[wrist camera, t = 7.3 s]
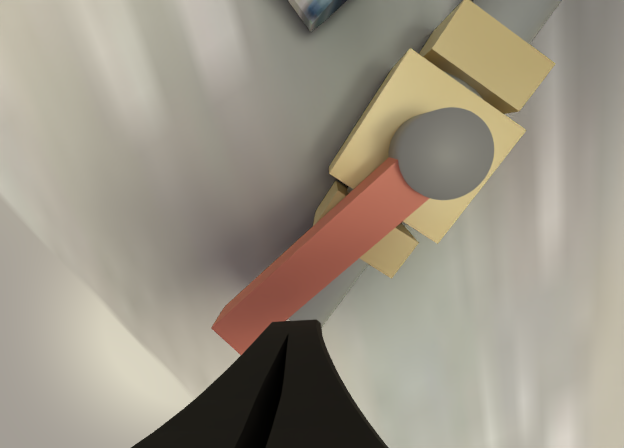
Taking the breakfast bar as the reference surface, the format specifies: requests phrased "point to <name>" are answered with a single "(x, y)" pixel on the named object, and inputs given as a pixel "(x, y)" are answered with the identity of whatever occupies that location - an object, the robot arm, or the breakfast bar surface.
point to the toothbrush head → (315, 10)
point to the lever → (365, 217)
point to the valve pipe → (432, 96)
